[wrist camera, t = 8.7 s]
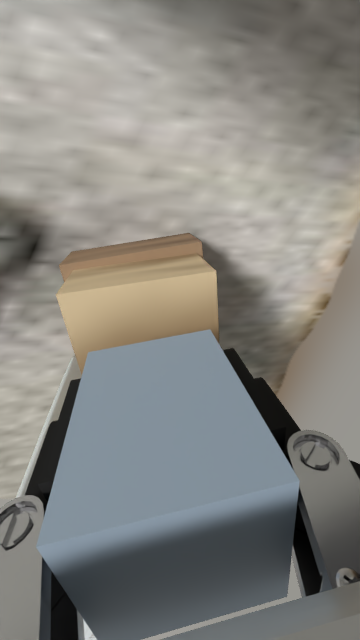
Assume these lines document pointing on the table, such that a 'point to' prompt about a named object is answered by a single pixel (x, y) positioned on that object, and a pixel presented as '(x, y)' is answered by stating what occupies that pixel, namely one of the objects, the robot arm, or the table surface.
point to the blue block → (167, 492)
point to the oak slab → (138, 302)
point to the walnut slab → (131, 252)
